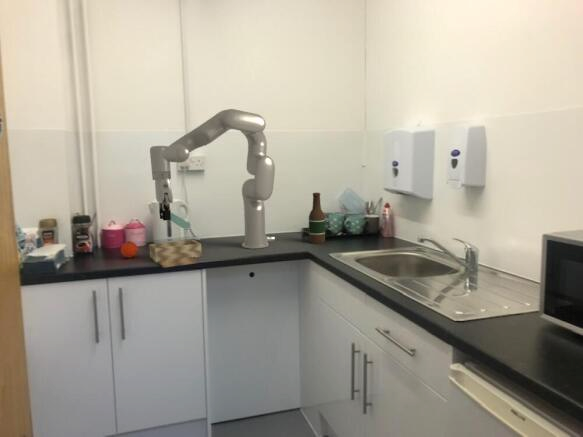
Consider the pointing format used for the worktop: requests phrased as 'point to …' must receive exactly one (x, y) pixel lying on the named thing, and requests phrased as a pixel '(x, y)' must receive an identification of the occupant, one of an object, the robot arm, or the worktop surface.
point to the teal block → (179, 221)
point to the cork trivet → (177, 262)
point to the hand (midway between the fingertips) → (165, 218)
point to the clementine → (129, 249)
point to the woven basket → (175, 250)
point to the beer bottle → (316, 222)
